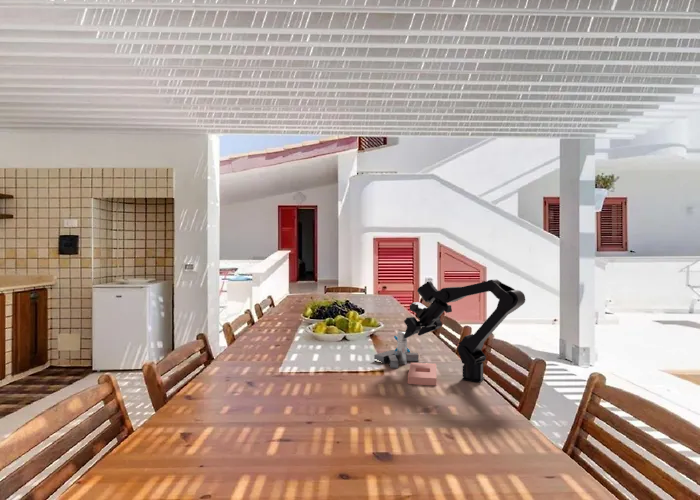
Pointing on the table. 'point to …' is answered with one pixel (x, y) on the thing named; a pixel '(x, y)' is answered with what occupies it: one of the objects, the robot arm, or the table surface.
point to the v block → (394, 358)
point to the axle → (401, 348)
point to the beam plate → (422, 374)
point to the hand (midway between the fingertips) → (411, 336)
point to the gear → (396, 348)
